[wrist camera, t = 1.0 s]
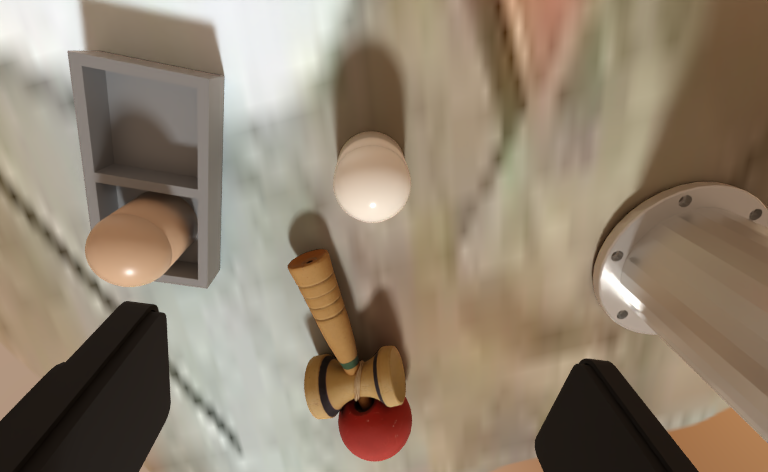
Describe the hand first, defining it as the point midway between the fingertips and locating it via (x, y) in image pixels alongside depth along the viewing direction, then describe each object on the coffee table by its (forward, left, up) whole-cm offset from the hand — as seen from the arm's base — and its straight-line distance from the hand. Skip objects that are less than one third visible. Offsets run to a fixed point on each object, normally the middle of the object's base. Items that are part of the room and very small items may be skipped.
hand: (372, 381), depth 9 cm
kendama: (-1, +15, -19) cm, 24 cm away
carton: (+13, +3, -19) cm, 23 cm away
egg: (0, 0, -19) cm, 19 cm away
